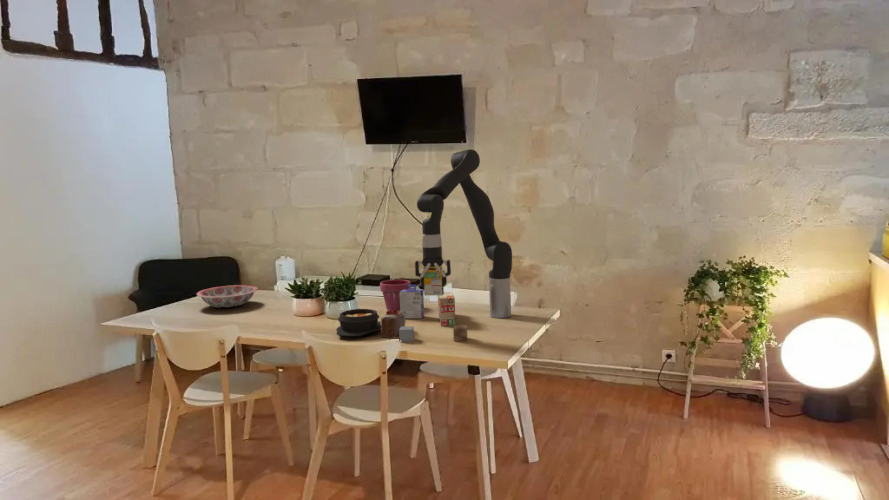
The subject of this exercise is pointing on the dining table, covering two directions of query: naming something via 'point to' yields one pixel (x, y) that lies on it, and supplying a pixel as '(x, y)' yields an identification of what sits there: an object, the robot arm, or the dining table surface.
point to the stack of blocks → (446, 309)
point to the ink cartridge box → (412, 302)
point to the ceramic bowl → (227, 295)
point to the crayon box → (433, 282)
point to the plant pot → (393, 292)
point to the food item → (392, 323)
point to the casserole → (358, 322)
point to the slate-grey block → (406, 333)
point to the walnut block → (460, 333)
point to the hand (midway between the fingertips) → (433, 286)
